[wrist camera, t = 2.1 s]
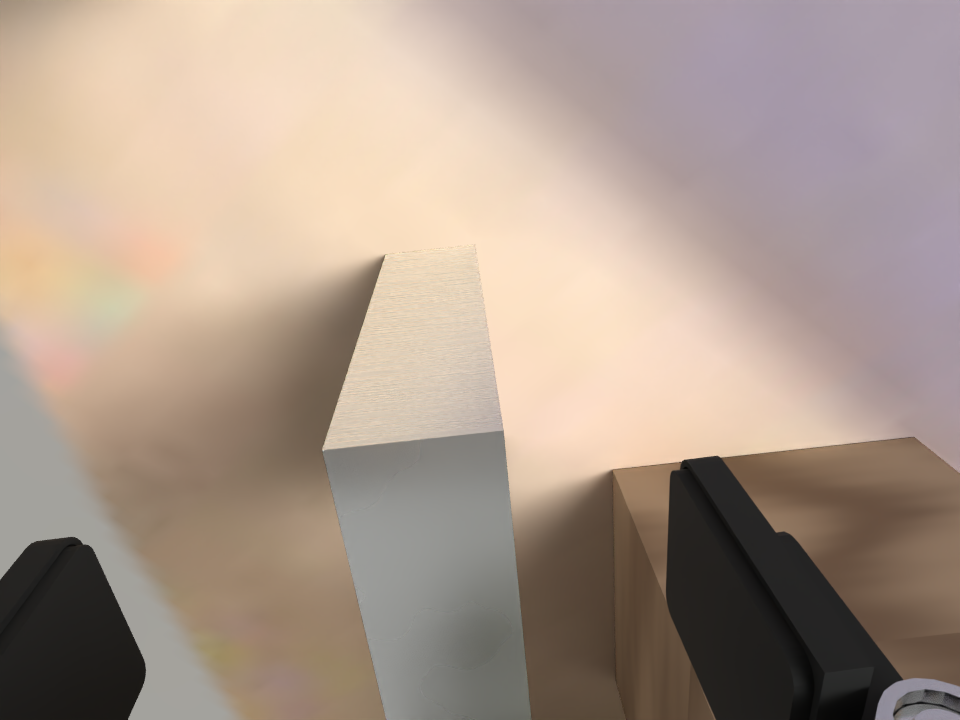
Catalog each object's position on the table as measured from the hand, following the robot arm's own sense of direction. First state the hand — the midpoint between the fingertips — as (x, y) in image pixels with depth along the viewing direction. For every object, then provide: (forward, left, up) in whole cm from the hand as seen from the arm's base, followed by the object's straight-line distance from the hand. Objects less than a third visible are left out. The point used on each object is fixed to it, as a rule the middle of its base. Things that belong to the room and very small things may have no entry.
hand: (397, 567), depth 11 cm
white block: (-1, 0, -9) cm, 9 cm away
